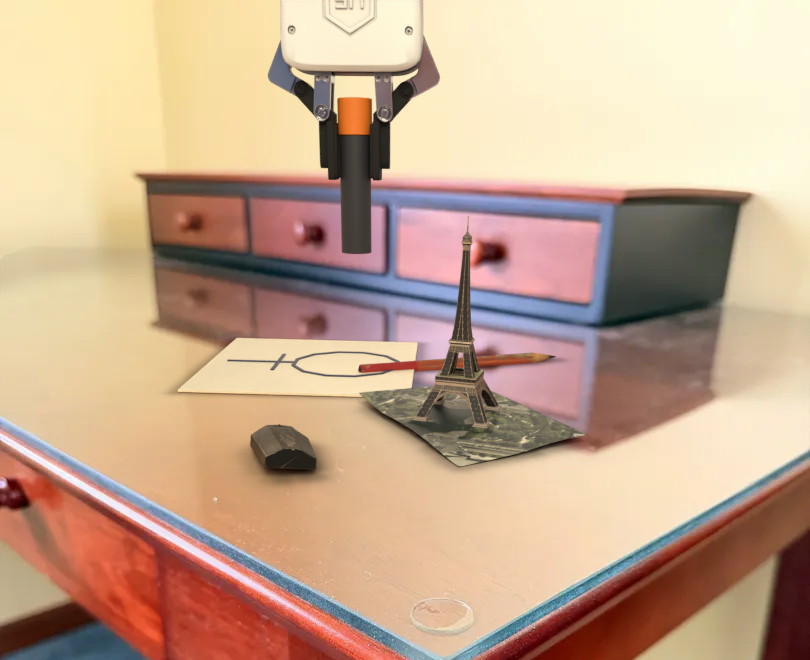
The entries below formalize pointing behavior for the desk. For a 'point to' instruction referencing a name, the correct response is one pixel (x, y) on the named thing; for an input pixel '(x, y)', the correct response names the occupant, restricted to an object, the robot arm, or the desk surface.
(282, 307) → the desk surface
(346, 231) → the marker
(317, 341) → the paper
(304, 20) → the robot arm
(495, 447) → the eiffel tower figurine
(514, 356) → the pencil
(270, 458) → the block
